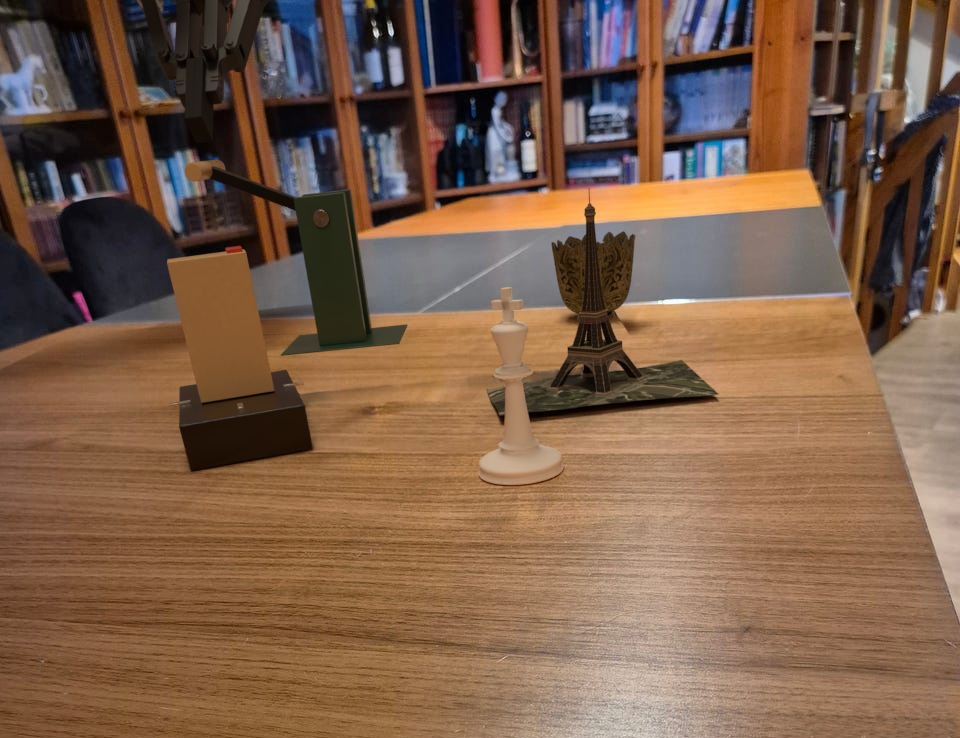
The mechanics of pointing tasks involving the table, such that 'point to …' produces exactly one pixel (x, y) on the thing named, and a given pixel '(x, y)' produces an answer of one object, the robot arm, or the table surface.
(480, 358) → the table surface
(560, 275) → the cup
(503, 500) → the table surface
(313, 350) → the bracket
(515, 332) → the chess piece
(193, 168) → the lever
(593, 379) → the eiffel tower figurine
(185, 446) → the base
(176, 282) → the tan standing plaque
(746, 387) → the table surface
